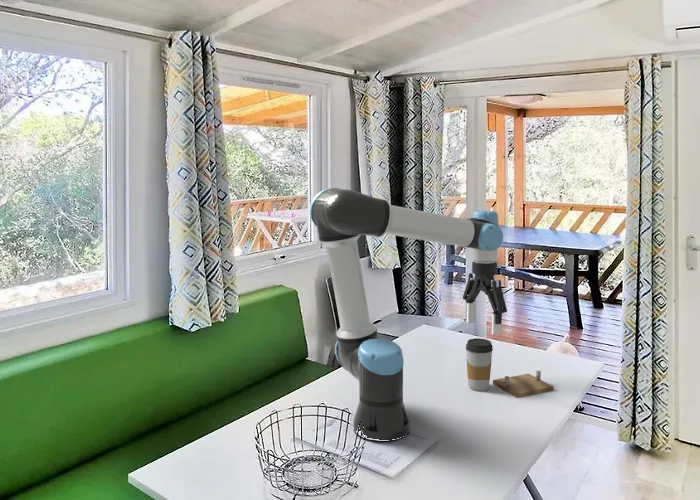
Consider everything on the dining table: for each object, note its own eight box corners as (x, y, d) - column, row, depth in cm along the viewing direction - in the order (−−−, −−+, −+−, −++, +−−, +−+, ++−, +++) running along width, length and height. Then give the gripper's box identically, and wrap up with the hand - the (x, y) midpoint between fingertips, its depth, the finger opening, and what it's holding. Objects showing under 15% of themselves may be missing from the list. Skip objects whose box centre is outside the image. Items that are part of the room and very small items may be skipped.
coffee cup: (492, 393, 176) (493, 346, 174) (465, 391, 178) (465, 345, 176) (491, 383, 184) (492, 338, 182) (465, 381, 186) (465, 337, 184)
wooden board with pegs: (516, 397, 173) (516, 384, 172) (492, 383, 184) (492, 371, 184) (553, 390, 178) (553, 377, 177) (528, 377, 189) (528, 364, 188)
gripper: (520, 266, 165) (518, 337, 168) (472, 254, 188) (471, 317, 191) (498, 268, 163) (496, 340, 166) (452, 256, 186) (451, 319, 189)
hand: (483, 328), depth 179 cm, fingers open, 13 cm apart
